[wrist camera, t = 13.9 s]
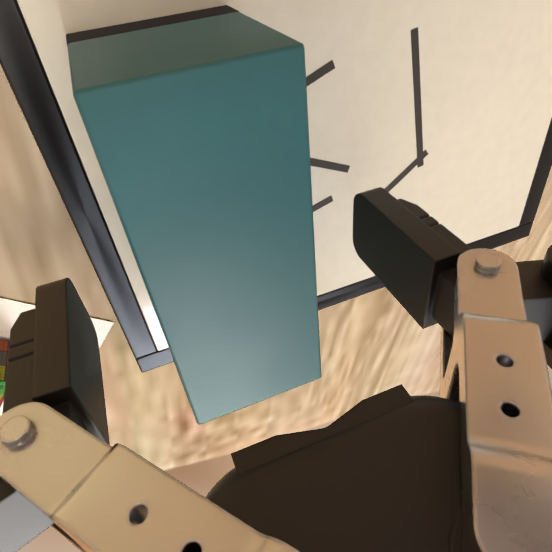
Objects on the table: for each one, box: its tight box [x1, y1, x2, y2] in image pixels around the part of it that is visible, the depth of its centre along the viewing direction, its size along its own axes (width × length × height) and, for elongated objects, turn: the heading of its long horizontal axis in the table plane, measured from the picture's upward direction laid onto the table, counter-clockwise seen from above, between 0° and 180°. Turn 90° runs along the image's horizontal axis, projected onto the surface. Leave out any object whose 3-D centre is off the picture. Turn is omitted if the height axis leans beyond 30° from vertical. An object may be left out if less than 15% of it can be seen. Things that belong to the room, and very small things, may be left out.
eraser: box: [66, 5, 321, 424], centre depth 14 cm, size 11×5×6 cm, turn 6°
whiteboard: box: [0, 0, 552, 372], centre depth 18 cm, size 16×22×1 cm
